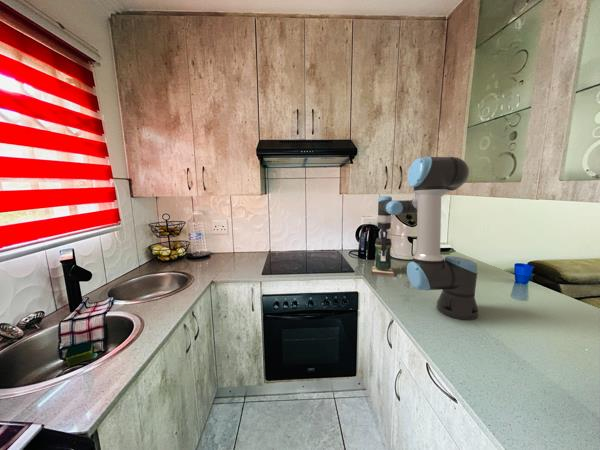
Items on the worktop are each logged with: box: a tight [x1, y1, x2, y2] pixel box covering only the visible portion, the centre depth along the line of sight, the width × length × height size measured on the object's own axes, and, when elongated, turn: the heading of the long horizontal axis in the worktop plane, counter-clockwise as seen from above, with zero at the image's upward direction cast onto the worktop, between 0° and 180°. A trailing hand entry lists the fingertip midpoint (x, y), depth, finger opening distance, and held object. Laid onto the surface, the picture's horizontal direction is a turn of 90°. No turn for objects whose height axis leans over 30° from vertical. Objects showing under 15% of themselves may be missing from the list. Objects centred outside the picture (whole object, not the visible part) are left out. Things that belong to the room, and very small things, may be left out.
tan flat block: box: [370, 265, 395, 278], centre depth 155 cm, size 11×13×2 cm
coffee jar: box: [374, 237, 393, 269], centre depth 153 cm, size 10×8×19 cm
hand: (382, 258), depth 153 cm, fingers closed on coffee jar, 8 cm apart
